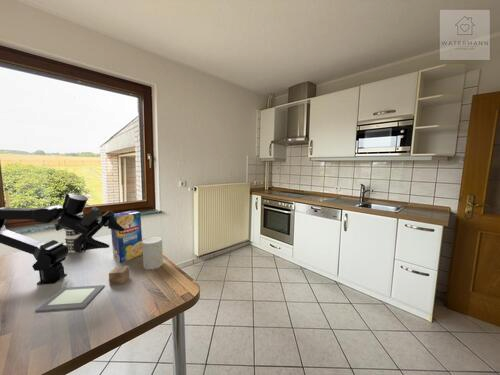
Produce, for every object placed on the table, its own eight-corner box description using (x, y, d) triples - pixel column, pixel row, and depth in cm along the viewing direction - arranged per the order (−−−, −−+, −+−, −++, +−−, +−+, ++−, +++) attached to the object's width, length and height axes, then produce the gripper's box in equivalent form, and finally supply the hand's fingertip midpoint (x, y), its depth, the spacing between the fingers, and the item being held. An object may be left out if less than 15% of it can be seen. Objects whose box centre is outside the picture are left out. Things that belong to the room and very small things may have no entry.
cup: (155, 270, 91) (154, 244, 89) (139, 268, 92) (137, 242, 91) (166, 261, 99) (165, 237, 97) (151, 260, 100) (150, 236, 99)
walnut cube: (109, 285, 80) (108, 273, 79) (116, 278, 85) (115, 266, 84) (123, 284, 81) (122, 272, 80) (129, 277, 85) (128, 266, 85)
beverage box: (143, 254, 106) (140, 212, 103) (119, 263, 97) (116, 217, 94) (136, 251, 110) (133, 210, 107) (113, 259, 101) (109, 214, 98)
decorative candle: (87, 244, 118) (83, 201, 115) (88, 249, 111) (83, 203, 108) (66, 248, 112) (61, 203, 109) (65, 254, 105) (59, 206, 102)
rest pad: (35, 311, 66) (35, 309, 66) (64, 288, 77) (63, 287, 77) (83, 308, 67) (83, 306, 67) (104, 286, 79) (104, 284, 79)
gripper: (54, 224, 69) (101, 241, 71) (95, 195, 85) (133, 209, 87) (56, 246, 75) (99, 261, 77) (94, 214, 91) (129, 227, 93)
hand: (116, 238), depth 83 cm, fingers open, 9 cm apart
